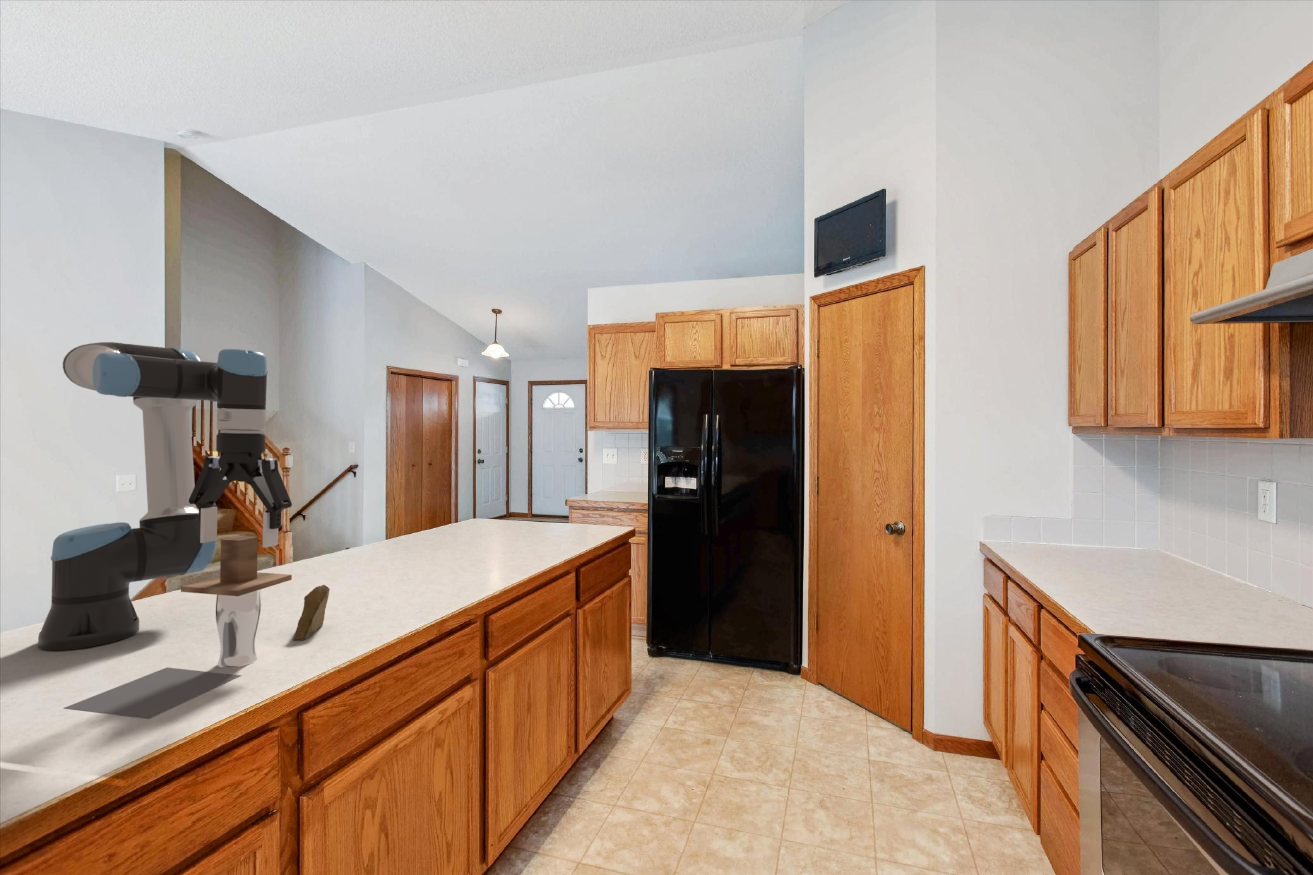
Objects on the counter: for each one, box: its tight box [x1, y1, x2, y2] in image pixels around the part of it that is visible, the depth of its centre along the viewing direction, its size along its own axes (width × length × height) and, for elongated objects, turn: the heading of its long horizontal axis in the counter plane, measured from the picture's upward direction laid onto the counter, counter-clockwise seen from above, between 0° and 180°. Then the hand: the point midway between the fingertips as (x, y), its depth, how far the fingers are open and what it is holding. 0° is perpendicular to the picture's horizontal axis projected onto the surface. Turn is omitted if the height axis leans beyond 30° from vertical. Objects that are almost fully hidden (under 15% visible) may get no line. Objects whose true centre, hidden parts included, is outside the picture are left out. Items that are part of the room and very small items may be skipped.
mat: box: [64, 667, 242, 720], centre depth 96 cm, size 16×16×1 cm
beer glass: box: [215, 589, 262, 669], centre depth 109 cm, size 7×7×15 cm
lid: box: [180, 535, 293, 596], centre depth 109 cm, size 12×12×9 cm
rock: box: [292, 584, 330, 641], centre depth 127 cm, size 11×9×10 cm
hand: (239, 544), depth 109 cm, fingers open, 13 cm apart
